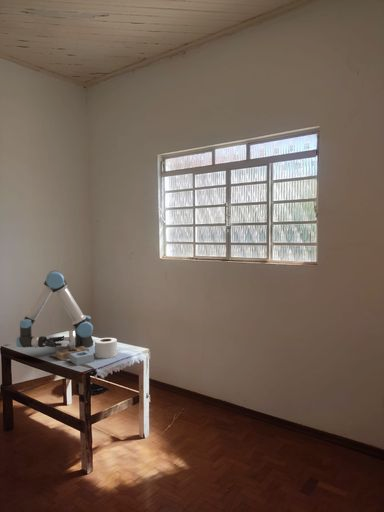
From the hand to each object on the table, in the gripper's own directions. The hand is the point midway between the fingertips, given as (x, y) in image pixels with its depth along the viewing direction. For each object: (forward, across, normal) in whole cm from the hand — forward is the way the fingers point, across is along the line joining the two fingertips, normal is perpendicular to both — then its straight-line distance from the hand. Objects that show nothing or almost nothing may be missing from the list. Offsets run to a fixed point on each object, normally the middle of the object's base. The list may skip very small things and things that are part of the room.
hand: (69, 341), depth 261 cm
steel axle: (+2, 0, -10) cm, 11 cm away
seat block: (+12, +12, -10) cm, 20 cm away
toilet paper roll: (+25, -2, -11) cm, 27 cm away
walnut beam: (+2, 0, -10) cm, 11 cm away
